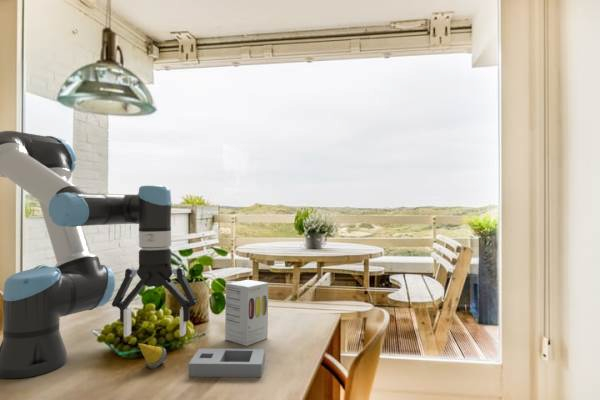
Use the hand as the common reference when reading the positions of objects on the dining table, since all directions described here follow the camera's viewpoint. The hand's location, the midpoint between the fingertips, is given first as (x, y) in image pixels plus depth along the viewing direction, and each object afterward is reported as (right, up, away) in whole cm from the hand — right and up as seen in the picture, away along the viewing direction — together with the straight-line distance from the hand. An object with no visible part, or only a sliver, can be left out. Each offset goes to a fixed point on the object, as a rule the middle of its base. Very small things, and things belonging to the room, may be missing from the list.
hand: (155, 335), depth 101 cm
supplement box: (+20, -9, +22) cm, 31 cm away
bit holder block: (+18, -8, 0) cm, 20 cm away
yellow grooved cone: (-1, -8, 0) cm, 8 cm away
